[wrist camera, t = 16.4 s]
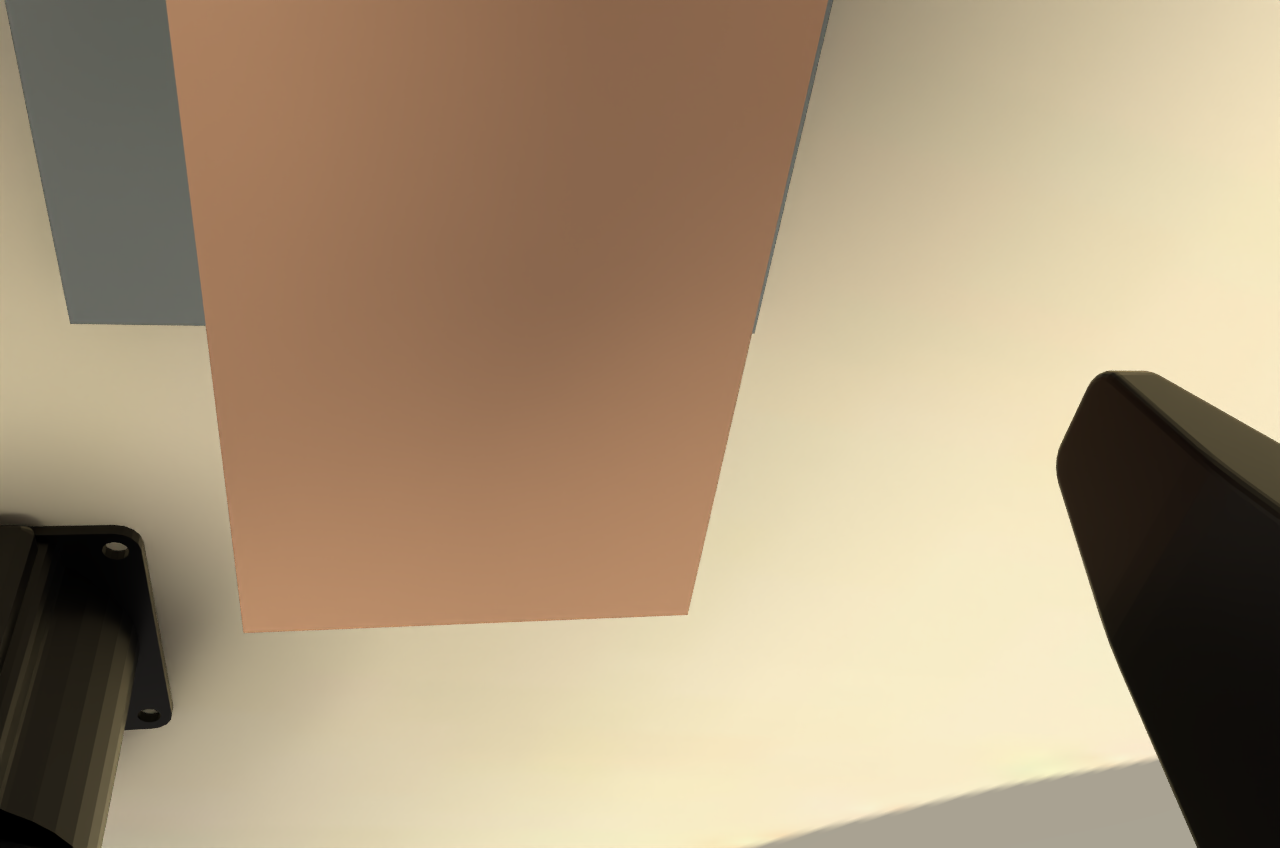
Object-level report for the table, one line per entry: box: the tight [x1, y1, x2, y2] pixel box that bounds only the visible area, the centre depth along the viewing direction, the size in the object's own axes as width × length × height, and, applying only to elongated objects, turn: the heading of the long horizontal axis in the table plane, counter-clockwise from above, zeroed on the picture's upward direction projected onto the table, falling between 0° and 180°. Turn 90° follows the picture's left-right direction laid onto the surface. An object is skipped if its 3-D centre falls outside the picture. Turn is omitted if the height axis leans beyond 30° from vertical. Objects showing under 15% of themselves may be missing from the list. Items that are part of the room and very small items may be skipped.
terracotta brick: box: [166, 0, 828, 633], centre depth 12 cm, size 10×5×4 cm, turn 173°
